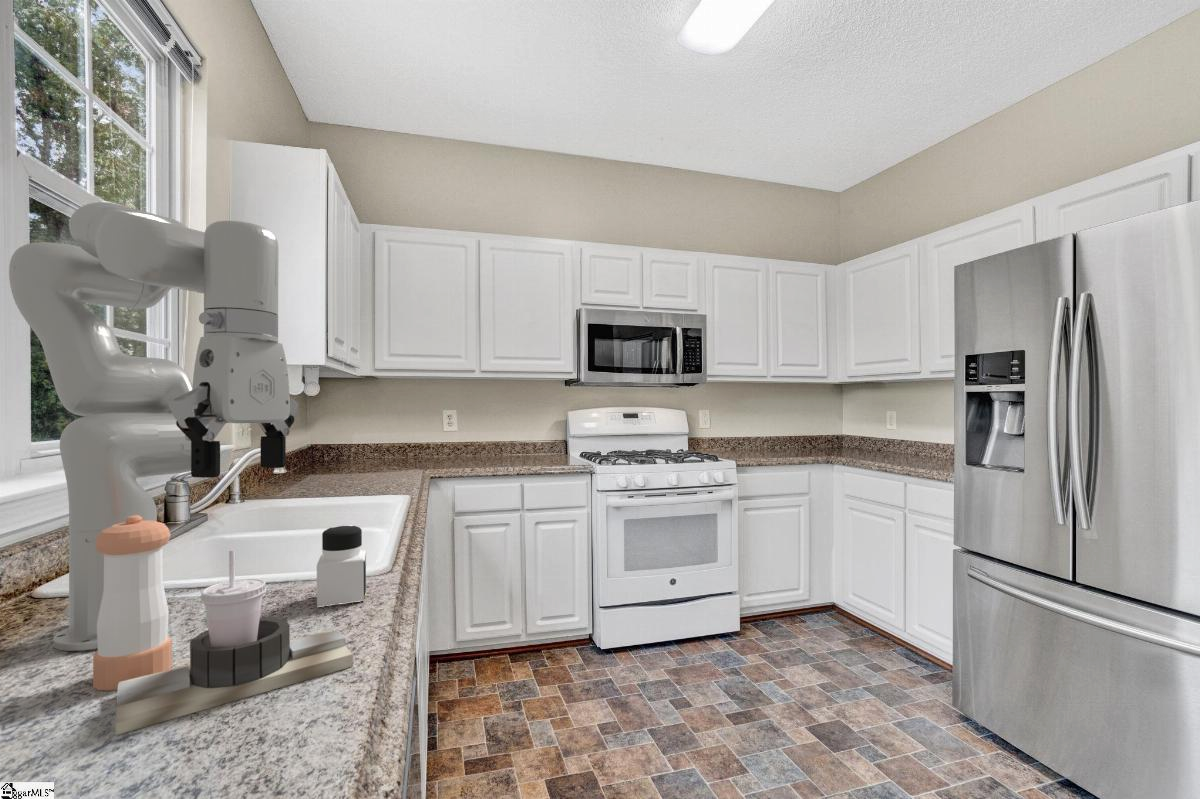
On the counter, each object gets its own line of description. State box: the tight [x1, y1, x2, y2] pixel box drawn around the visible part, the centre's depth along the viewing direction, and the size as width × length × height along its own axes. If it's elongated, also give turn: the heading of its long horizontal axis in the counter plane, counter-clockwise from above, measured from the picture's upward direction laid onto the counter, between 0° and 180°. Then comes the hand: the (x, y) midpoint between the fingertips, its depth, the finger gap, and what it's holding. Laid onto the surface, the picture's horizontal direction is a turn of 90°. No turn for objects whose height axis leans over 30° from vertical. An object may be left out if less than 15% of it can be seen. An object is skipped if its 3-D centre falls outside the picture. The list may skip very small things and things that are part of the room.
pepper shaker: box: [92, 515, 173, 692], centre depth 67 cm, size 7×7×19 cm
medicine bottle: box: [316, 524, 367, 607], centre depth 93 cm, size 7×7×12 cm
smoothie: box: [200, 549, 267, 647], centre depth 64 cm, size 6×6×14 cm
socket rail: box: [115, 617, 354, 736], centre depth 65 cm, size 22×10×6 cm, turn 130°
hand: (241, 471), depth 66 cm, fingers open, 9 cm apart
